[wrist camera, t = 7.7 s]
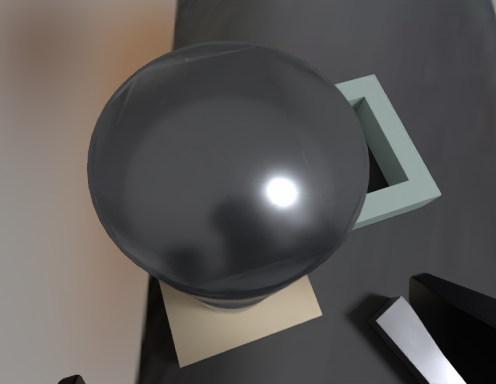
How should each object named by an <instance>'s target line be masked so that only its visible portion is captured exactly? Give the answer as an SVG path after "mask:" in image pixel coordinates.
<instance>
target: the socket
mask: <svg viewBox="0 0 496 384" xmlns="http://www.w3.org/2000/svg"><path fill="white" fill-rule="evenodd" d="M335 86H336V87H337V88H338V89H339V90H340V91H341V92H342V94H343V95H344V96H345V98H346V99H347V100H348V102H349V103H350V104H351V106H352V108H353V110H354V112H355V113H356V115H357V117H358V119H359V122H360V124H361V127H362V129H363V132H364V135H365V139H366V142H367V144H368V146H369V148H370V150H371V152H372V154H373V156H374V157H375V159H376V161H377V163H378V165H379V167H380V169H381V171H382V173H383V175H384V177H385V179H386V181H387V183H388V185H389V187H387V188H384V189H381V190H378V191H374V192H371V193H368V194H366V199H365V202H364V205H363V208H362V211H361V213H360V216H359V218H358V220H357V222H356V223H355V225H354V227H353V229H352V230H354V229H357V228H360V227H363V226H366V225H369V224H372V223H375V222H378V221H381V220H384V219H387V218H390V217H393V216H396V215H399V214H402V213H405V212H408V211H411V210H414V209H417V208H420V207H422V206H424V205H426V204H427V203H429V202H431V201H432V200H434V199H435V198H437V197H439V196H440V195H441V193H440V191H439V189H438V187H437V186H436V184H435V182H434V180H433V178H432V177H431V175H430V173H429V171H428V170H427V168H426V166H425V164H424V162H423V161H422V159H421V157H420V155H419V153H418V152H417V150H416V148H415V146H414V144H413V143H412V141H411V139H410V137H409V135H408V134H407V132H406V130H405V128H404V127H403V125H402V123H401V121H400V119H399V118H398V116H397V114H396V112H395V110H394V109H393V107H392V105H391V103H390V101H389V100H388V98H387V96H386V94H385V93H384V91H383V89H382V87H381V85H380V84H379V82H378V80H377V78H376V76H375V75H370V76H366V77H362V78H358V79H355V80H351V81H347V82H343V83H340V84H336V85H335Z"/></svg>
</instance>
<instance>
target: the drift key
mask: <svg viewBox="0 0 496 384" xmlns="http://www.w3.org/2000/svg"><path fill="white" fill-rule="evenodd" d="M367 322H368V323H369V324H370V325H371V326H372V327H373V329H374V330H375V331H376V332H377V333H378V334H379V336H380V337H381V338H382V339H383V340H384V341H385V343H386V344H387V345H388V346H389V347H390V348H391V350H392V351H393V352H394V353H395V354H396V355H397V357H398V358H399V359H400V360H401V361H402V363H403V364H404V365H405V366H406V367H407V368H408V370H409V371H410V372H411V373H412V374H413V375H414V377H415V378H416V379H417V380H418V381H419V382H420V384H466V383H465V382H464V380H463V379H462V378H461V377H460V375H459V374H458V373H457V372H456V370H455V369H454V368H453V367H452V365H451V364H450V363H449V362H448V360H447V359H446V358H445V356H444V355H443V354H442V352H441V351H440V349H439V348H438V347H437V345H436V343H435V342H434V340H433V339H432V337H431V336H430V334H429V333H428V331H427V330H426V328H425V327H424V325H423V324H422V322H421V321H420V319H419V318H418V316H417V315H416V313H415V312H414V310H413V309H412V307H411V306H410V305H409V304H408V303H407V302H406V301H405V300H404V298H403V297H402V296H399V297H393V298H390V299H389V300H388V301H387V302H386V303H385V304H384V305H383V306H382V307H381V308H380V309H379V310H378V311H377V312H376V313H375V314H374V315H373V316H372V317H371V318H370V319H369V320H367Z"/></svg>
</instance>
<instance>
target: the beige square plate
mask: <svg viewBox="0 0 496 384" xmlns="http://www.w3.org/2000/svg"><path fill="white" fill-rule="evenodd" d="M159 283H160V288H161V292H162V296H163V300H164V304H165V308H166V312H167V316H168V320H169V324H170V328H171V332H172V336H173V340H174V345H175V349H176V353H177V357H178V361H179V365H180V368H181V367H184V366H187V365H189V364H192V363H195V362H197V361H200V360H203V359H205V358H208V357H211V356H213V355H216V354H219V353H222V352H224V351H227V350H230V349H232V348H235V347H238V346H240V345H243V344H246V343H248V342H251V341H254V340H257V339H259V338H262V337H265V336H267V335H270V334H273V333H275V332H278V331H281V330H283V329H286V328H289V327H292V326H294V325H297V324H300V323H302V322H305V321H308V320H310V319H313V318H316V317H318V316H321V315H322V313H321V310H320V307H319V305H318V302H317V300H316V297H315V294H314V292H313V289H312V287H311V284H310V282H309V279H308V276H307V275H305V276H304V277H302V278H301V279H299V280H298V281H296V282H294V283H293V284H291V285H290V286H288V287H286V288H285V289H283V290H281V291H279V292H277V293H275V294H273V295H270V296H269V297H268V298H266V299H265V300H263V301H262V302H260V303H259V304H258V305H256V306H255V307H253V308H252V309H250V310H248V311H245V312H243V313H239V314H223V313H219V312H216V311H214V310H212V309H210V308H209V307H207V306H206V305H204V304H203V303H201V302H200V301H198V300H197V299H195V298H194V297H191V296H188V295H186V294H184V293H182V292H180V291H178V290H176V289H174V288H173V287H171V286H169V285H168V284H166V283H164V282H162V281H161V280H159Z"/></svg>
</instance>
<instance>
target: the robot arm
mask: <svg viewBox="0 0 496 384" xmlns="http://www.w3.org/2000/svg"><path fill="white" fill-rule="evenodd" d="M409 302H410V305H411V307H412V309H413V310H414V312H415V313H416V315H417V316H418V318H419V319H420V321H421V322H422V324H423V325H424V327H425V328H426V330H427V331H428V333H429V334H430V336H431V337H432V339H433V340H434V342H435V343H436V345H437V347H438V348H439V349H440V351H441V352H442V354H443V355H444V356H445V358H446V359H447V360H448V362H449V363H450V364H451V365H452V367H453V368H454V369H455V370H456V372H457V373H458V374H459V375H460V377H461V378H462V379H463V380H464V382H465V383H466V384H496V299H495V298H492V297H489V296H487V295H484V294H481V293H479V292H476V291H473V290H471V289H468V288H465V287H463V286H460V285H457V284H455V283H452V282H449V281H447V280H444V279H441V278H439V277H436V276H433V275H431V274H428V273H419V274H416V275H413V276H411V277H410V279H409ZM58 384H85V382H84V380H83V378H82V377H81V376H80V375H73V376H70V377H67V378H64V379H62V380H61V381H60V382H59V383H58Z"/></svg>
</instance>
